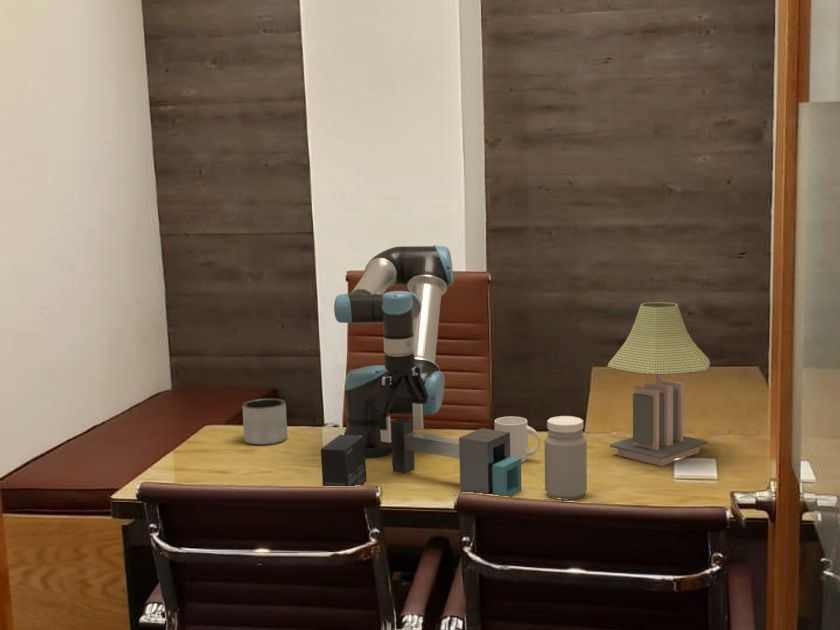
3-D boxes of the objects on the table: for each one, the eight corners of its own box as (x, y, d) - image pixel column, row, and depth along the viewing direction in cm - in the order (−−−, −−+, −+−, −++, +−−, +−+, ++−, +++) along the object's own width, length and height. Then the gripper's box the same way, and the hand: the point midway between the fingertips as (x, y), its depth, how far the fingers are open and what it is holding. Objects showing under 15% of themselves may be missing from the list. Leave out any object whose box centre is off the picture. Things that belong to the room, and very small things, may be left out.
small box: (341, 479, 259) (339, 433, 257) (367, 481, 257) (365, 435, 255) (322, 496, 246) (319, 448, 244) (348, 498, 244) (346, 449, 242)
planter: (245, 436, 303) (243, 399, 302) (288, 433, 305) (286, 396, 303) (242, 447, 291) (240, 409, 289) (287, 445, 292) (285, 406, 291)
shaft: (392, 471, 261) (390, 421, 259) (402, 467, 265) (400, 417, 263) (485, 489, 245) (483, 435, 243) (494, 485, 248) (492, 432, 246)
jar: (544, 487, 247) (543, 415, 245) (585, 487, 246) (584, 414, 244) (545, 501, 238) (544, 425, 235) (588, 501, 237) (587, 425, 234)
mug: (536, 466, 265) (536, 426, 263) (491, 463, 268) (490, 423, 267) (543, 457, 273) (543, 417, 271) (499, 454, 277) (498, 415, 275)
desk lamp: (675, 475, 254) (676, 315, 248) (585, 453, 275) (584, 305, 269) (732, 453, 270) (734, 303, 264) (643, 434, 291) (644, 294, 285)
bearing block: (460, 492, 246) (458, 437, 244) (483, 481, 254) (481, 428, 252) (488, 498, 241) (487, 442, 239) (510, 486, 249) (509, 432, 247)
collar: (493, 497, 241) (492, 465, 240) (510, 488, 248) (510, 456, 246) (503, 500, 240) (503, 467, 238) (521, 490, 246) (521, 458, 245)
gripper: (380, 364, 245) (383, 449, 249) (440, 345, 265) (442, 424, 269) (355, 361, 250) (359, 445, 253) (416, 342, 269) (419, 420, 273)
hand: (402, 434), depth 261 cm, fingers open, 13 cm apart
